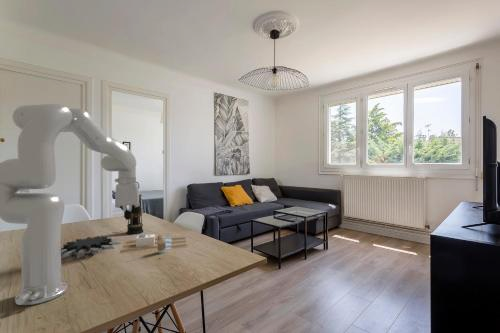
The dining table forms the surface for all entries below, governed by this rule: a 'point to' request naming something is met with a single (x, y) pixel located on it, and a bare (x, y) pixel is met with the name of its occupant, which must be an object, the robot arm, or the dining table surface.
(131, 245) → the floor panel
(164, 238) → the awl
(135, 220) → the lantern
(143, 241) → the block
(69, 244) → the decorative piece
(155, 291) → the dining table surface
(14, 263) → the dining table surface
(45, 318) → the dining table surface
